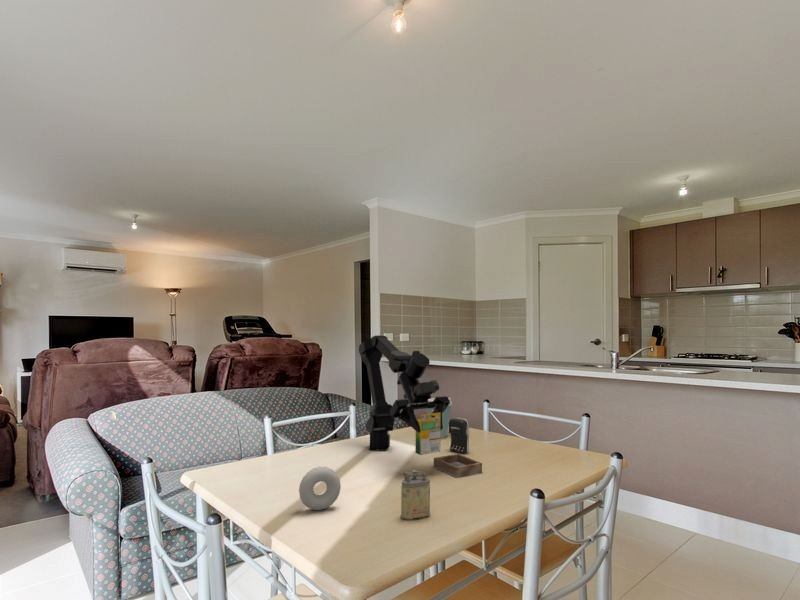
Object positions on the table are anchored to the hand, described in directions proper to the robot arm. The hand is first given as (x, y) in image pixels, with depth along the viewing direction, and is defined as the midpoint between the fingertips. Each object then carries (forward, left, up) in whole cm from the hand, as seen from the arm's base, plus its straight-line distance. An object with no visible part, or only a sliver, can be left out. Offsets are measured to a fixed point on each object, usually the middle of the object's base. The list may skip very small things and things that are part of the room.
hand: (430, 430), depth 135 cm
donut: (-24, -28, -13) cm, 40 cm away
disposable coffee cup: (0, +50, -13) cm, 51 cm away
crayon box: (-1, +1, -7) cm, 7 cm away
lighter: (-1, -28, -13) cm, 32 cm away
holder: (+8, +8, -13) cm, 17 cm away
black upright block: (+8, +28, -13) cm, 32 cm away
